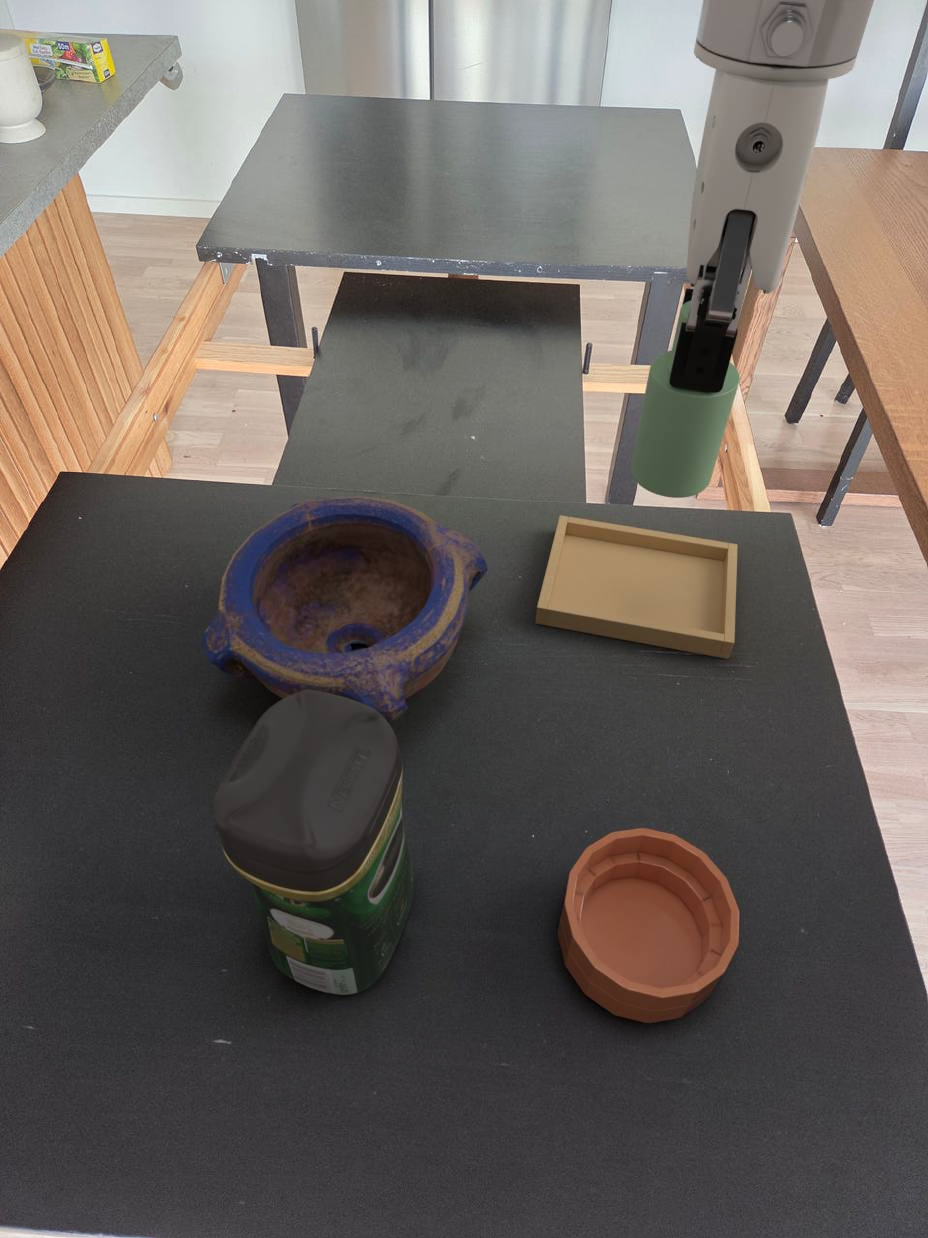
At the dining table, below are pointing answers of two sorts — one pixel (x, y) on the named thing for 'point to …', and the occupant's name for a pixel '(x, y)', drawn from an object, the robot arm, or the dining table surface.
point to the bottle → (680, 429)
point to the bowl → (345, 601)
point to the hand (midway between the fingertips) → (696, 366)
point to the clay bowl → (647, 924)
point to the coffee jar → (321, 838)
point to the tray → (641, 586)
